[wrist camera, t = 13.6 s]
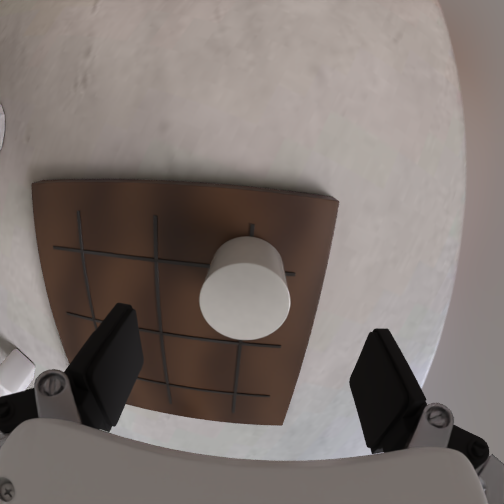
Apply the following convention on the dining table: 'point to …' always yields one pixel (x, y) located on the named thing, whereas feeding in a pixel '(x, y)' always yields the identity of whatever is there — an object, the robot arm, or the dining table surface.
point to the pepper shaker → (15, 373)
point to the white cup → (2, 125)
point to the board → (182, 284)
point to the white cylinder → (245, 289)
